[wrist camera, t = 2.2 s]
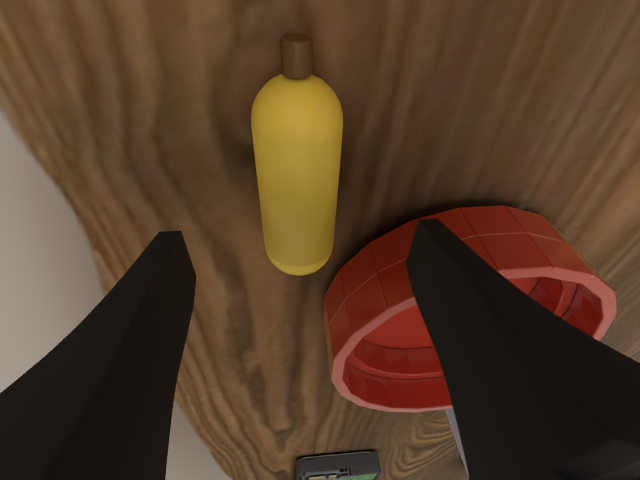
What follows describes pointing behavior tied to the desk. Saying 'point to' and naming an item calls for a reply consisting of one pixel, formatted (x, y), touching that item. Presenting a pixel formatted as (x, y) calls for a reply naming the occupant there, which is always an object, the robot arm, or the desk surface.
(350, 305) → the bowl
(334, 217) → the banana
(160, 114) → the desk surface
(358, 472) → the disk drive
